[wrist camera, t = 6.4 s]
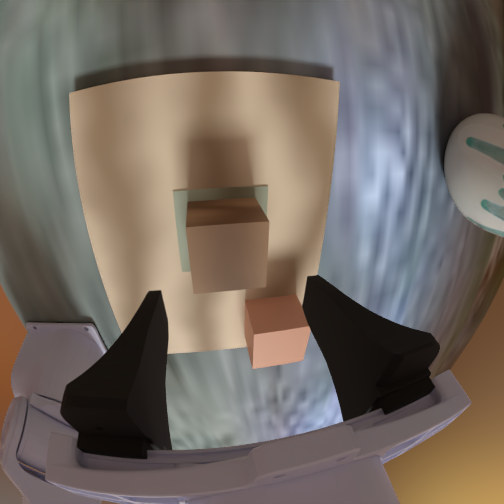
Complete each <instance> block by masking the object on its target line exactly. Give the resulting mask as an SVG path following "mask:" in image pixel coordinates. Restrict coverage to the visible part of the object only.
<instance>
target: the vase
mask: <svg viewBox="0 0 504 504" xmlns="http://www.w3.org/2000/svg"><path fill="white" fill-rule="evenodd" d="M444 175H445V180H446V185H447V188H448V191H449V193H450V196H451V198H452V200H453V202H454V203H455V205H456V206H457V208H458V209H459V210H460V212H461V213H462V214H463V215H464V216H465V217H466V218H467V219H468V220H470V221H471V222H472V223H473V224H475V225H477V226H478V227H480V228H482V229H483V230H486V231H488V232H490V233H493V234H495V235H498V236H500V237H503V238H504V117H503V116H500V115H497V114H492V113H479V114H474V115H472V116H469V117H467V118H466V119H464V120H463V121H461V122H460V123H459V124H458V125H457V126H456V128H455V129H454V130H453V132H452V134H451V136H450V138H449V140H448V143H447V147H446V151H445V158H444Z"/></svg>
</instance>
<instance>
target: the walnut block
mask: <svg viewBox="0 0 504 504" xmlns="http://www.w3.org/2000/svg"><path fill="white" fill-rule="evenodd" d="M186 235H187V244H188V253H189V261H190V269H191V277H192V285H193V292H194V294H201V293H212V292H223V291H234V290H244V289H253V288H263V287H266V277H267V259H268V241H269V220H268V218H267V216H266V215H265V213H264V211H263V210H262V208H261V206H260V205H259V203H258V201H257V200H256V198H255V197H254V198H235V199H218V200H204V201H191V202H187V216H186Z"/></svg>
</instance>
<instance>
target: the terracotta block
mask: <svg viewBox="0 0 504 504" xmlns="http://www.w3.org/2000/svg"><path fill="white" fill-rule="evenodd" d="M310 330H311V329H310V327H309V325H308V323H307V320H306V317H305V314H304V311H303V308H302V305H301V303H300V301H299V299H298V297H297V295H296V294H295V295H287V296H279V297H270V298H261V299H252V300H245V339H246V344H247V348H248V352H249V356H250V360H251V365H252V369H255V368H262V367H269V366H275V365H281V364H287V363H292V362H297V361H303V358H304V354H305V351H306V347H307V343H308V339H309V335H310Z"/></svg>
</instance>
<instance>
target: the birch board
mask: <svg viewBox="0 0 504 504" xmlns="http://www.w3.org/2000/svg"><path fill="white" fill-rule="evenodd" d="M339 84H340V82H338V81H332V80H326V79H320V78H313V77H306V76H298V75H289V74H278V73H264V72H237V71H218V72H191V73H177V74H167V75H158V76H150V77H142V78H136V79H130V80H124V81H119V82H113V83H108V84H104V85H99V86H95V87H91V88H87V89H83V90H79V91H75V92H72V93H69V100H70V120H71V133H72V143H73V152H74V160H75V167H76V174H77V180H78V186H79V191H80V196H81V202H82V206H83V211H84V216H85V220H86V224H87V229H88V233H89V236H90V240H91V244H92V248H93V251H94V255H95V258H96V262H97V265H98V268H99V272H100V275H101V278H102V281H103V284H104V287H105V290H106V293H107V296H108V299H109V301H110V304H111V307H112V309H113V312H114V315H115V317H116V320H117V322H118V325H119V327H120V330H121V332H123V331H124V330H125V328H126V327H127V325H128V324H129V322H130V321H131V319H132V318H133V316H134V315H135V313H136V311H137V310H138V308H139V306H140V305H141V303H142V301H143V300H144V298H145V296H146V294H147V293H148V291H155V290H161V292H162V296H163V301H164V305H165V309H166V314H167V318H168V330H169V341H168V352H167V354H171V353H187V352H200V351H212V350H222V349H231V348H240V347H247V344H246V339H245V300H252V299H261V298H270V297H279V296H287V295H295V294H296V295H297V297H298V299H299V301H300V303H301V305H302V304H303V299H304V293H305V287H306V281H307V276H314V275H317V272H318V267H319V261H320V256H321V250H322V244H323V237H324V231H325V225H326V218H327V211H328V204H329V196H330V188H331V180H332V171H333V162H334V153H335V142H336V131H337V118H338V103H339ZM254 197H255V198H256V200H257V201H258V203H259V205H260V206H261V208H262V210H263V211H264V213H265V215H266V216H267V218H268V220H269V241H268V259H267V277H266V287H263V288H253V289H244V290H234V291H223V292H212V293H201V294H194V292H193V285H192V277H191V269H190V261H189V253H188V244H187V235H186V216H187V202H191V201H204V200H218V199H235V198H254Z"/></svg>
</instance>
